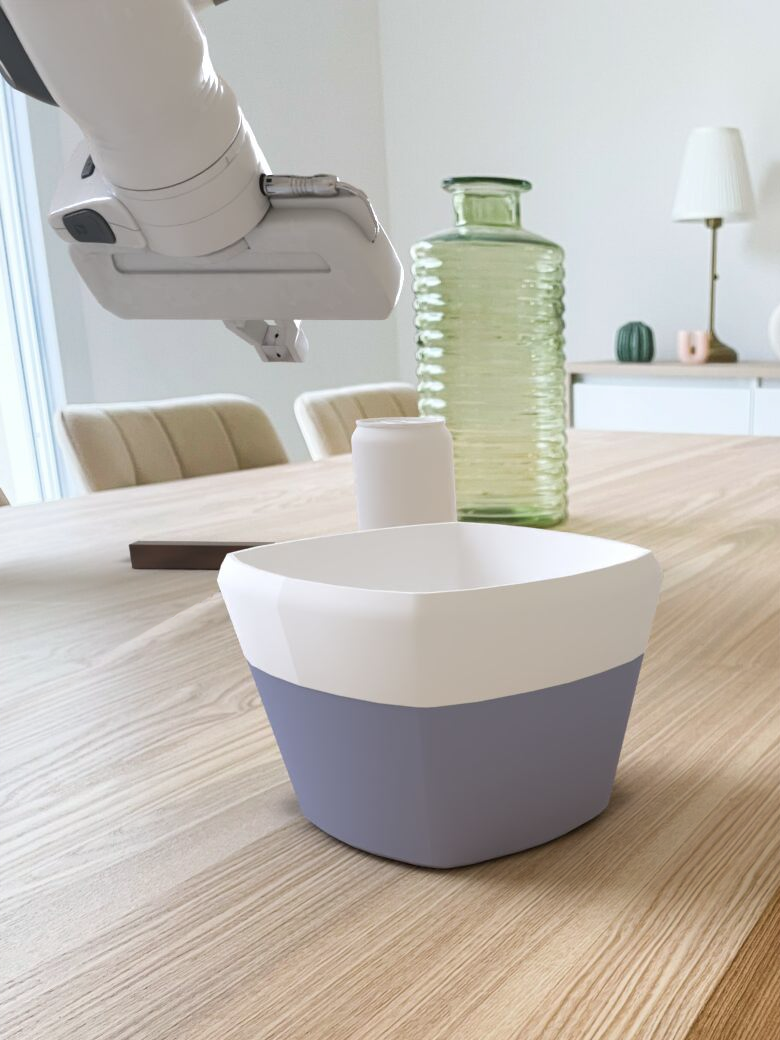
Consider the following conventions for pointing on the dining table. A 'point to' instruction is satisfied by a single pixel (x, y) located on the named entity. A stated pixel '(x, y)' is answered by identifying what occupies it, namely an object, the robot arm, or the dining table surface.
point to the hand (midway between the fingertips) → (287, 355)
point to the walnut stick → (184, 553)
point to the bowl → (446, 679)
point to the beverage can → (403, 472)
